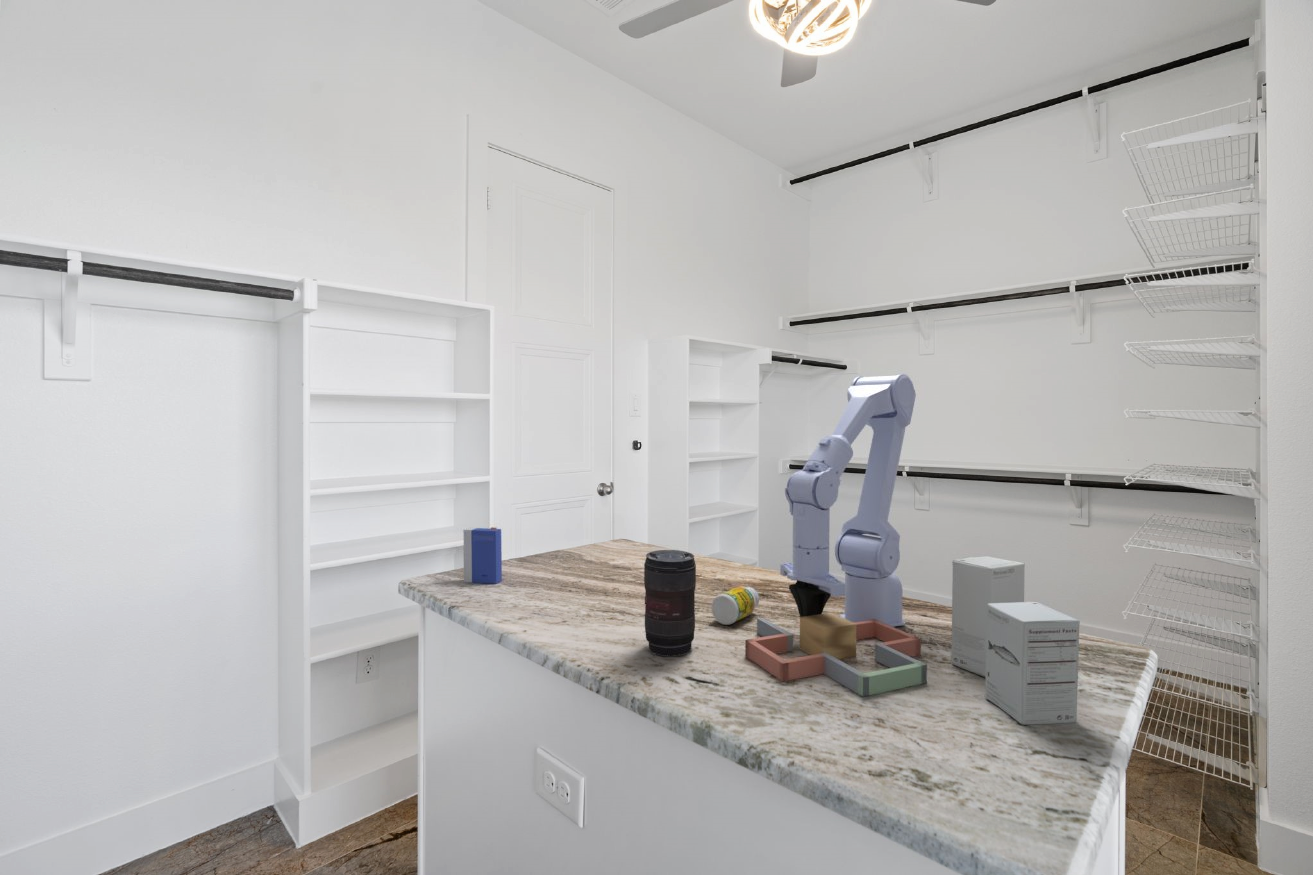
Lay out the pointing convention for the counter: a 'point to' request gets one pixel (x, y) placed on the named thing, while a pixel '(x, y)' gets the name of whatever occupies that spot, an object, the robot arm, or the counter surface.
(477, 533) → the walkman
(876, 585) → the robot arm
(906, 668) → the plus maze
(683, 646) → the camera lens
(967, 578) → the skincare box
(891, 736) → the counter surface
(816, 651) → the oak block
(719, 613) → the supplement bottle
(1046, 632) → the supplement box
